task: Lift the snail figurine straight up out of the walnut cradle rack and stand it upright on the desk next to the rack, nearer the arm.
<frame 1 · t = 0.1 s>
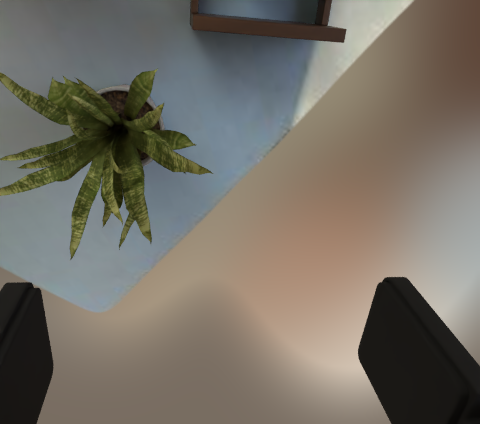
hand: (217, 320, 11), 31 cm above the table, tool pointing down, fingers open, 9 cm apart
house plant: (114, 107, 39), on the table
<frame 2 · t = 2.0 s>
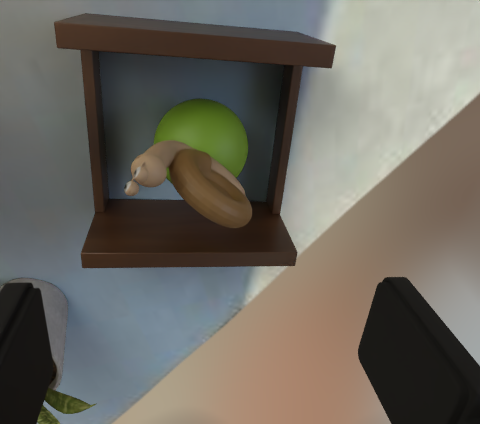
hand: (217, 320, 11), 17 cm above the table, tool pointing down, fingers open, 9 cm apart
snail figurine: (192, 127, 26), resting in rack
rack: (192, 128, 26), on the table
house plant: (12, 300, 30), on the table
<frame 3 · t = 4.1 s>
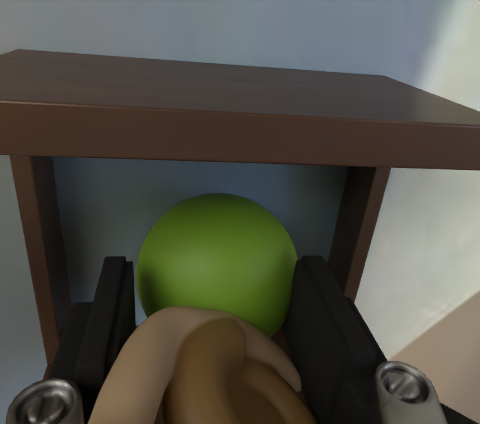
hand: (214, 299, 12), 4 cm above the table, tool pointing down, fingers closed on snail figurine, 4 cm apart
snail figurine: (201, 224, 16), resting in rack, touching gripper
rack: (205, 225, 16), on the table
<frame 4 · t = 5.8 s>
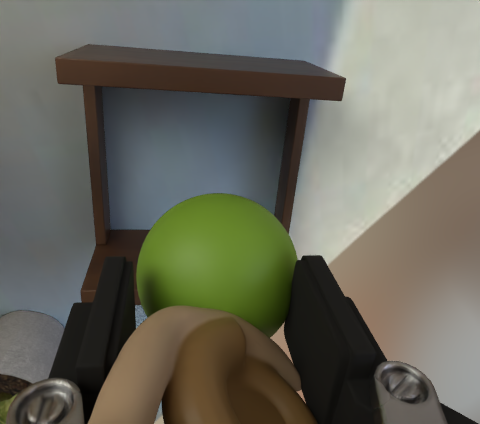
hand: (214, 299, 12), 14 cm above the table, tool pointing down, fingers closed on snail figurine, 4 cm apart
snail figurine: (201, 224, 16), point 10 cm above the table, touching gripper
rack: (196, 157, 25), on the table
house plant: (10, 333, 29), on the table
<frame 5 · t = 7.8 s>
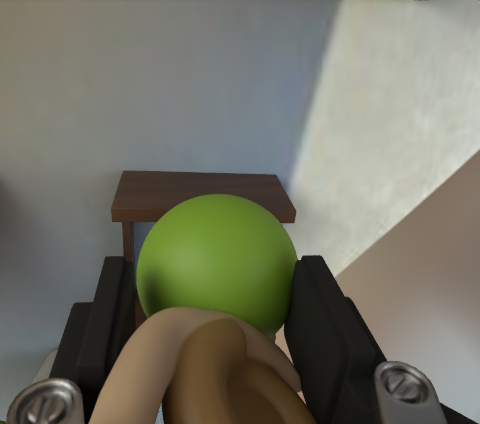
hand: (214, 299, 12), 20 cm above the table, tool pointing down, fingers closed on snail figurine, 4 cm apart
snail figurine: (201, 225, 16), point 16 cm above the table, touching gripper
rack: (198, 239, 35), on the table
house plant: (58, 362, 39), on the table
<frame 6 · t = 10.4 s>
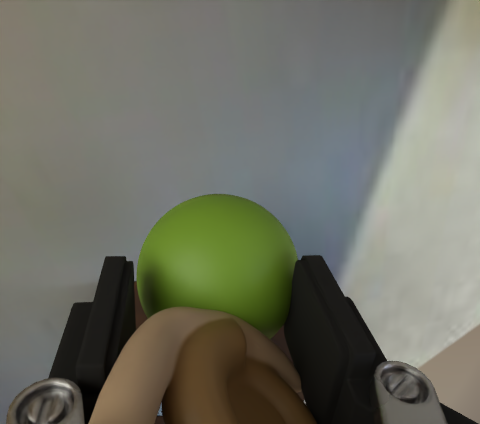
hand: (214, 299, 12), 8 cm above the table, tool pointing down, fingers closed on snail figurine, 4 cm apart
snail figurine: (202, 225, 16), point 4 cm above the table, touching gripper
rack: (207, 359, 25), on the table
when the fingers open (4 cm above the table, at t = 11.9 s): snail figurine stays where it is, on the table.
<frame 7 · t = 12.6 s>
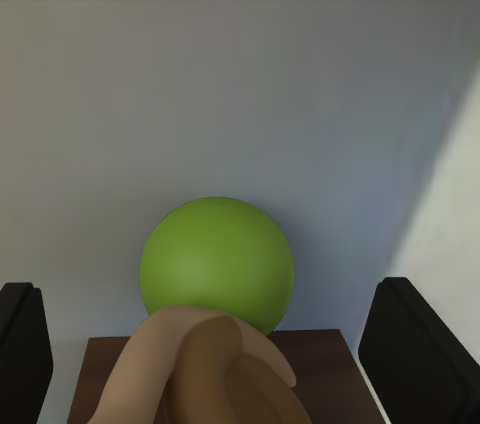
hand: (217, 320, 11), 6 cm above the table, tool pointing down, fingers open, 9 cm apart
snail figurine: (201, 226, 17), on the table
rack: (213, 417, 22), on the table
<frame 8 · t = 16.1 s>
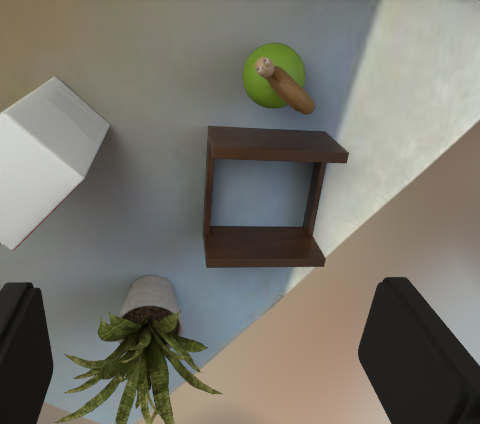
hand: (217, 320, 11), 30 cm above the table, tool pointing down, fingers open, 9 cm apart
snail figurine: (263, 67, 38), on the table
small box: (57, 130, 38), on the table
rack: (261, 184, 43), on the table
house plant: (140, 289, 48), on the table
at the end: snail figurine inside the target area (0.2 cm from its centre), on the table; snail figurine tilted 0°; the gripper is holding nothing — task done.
